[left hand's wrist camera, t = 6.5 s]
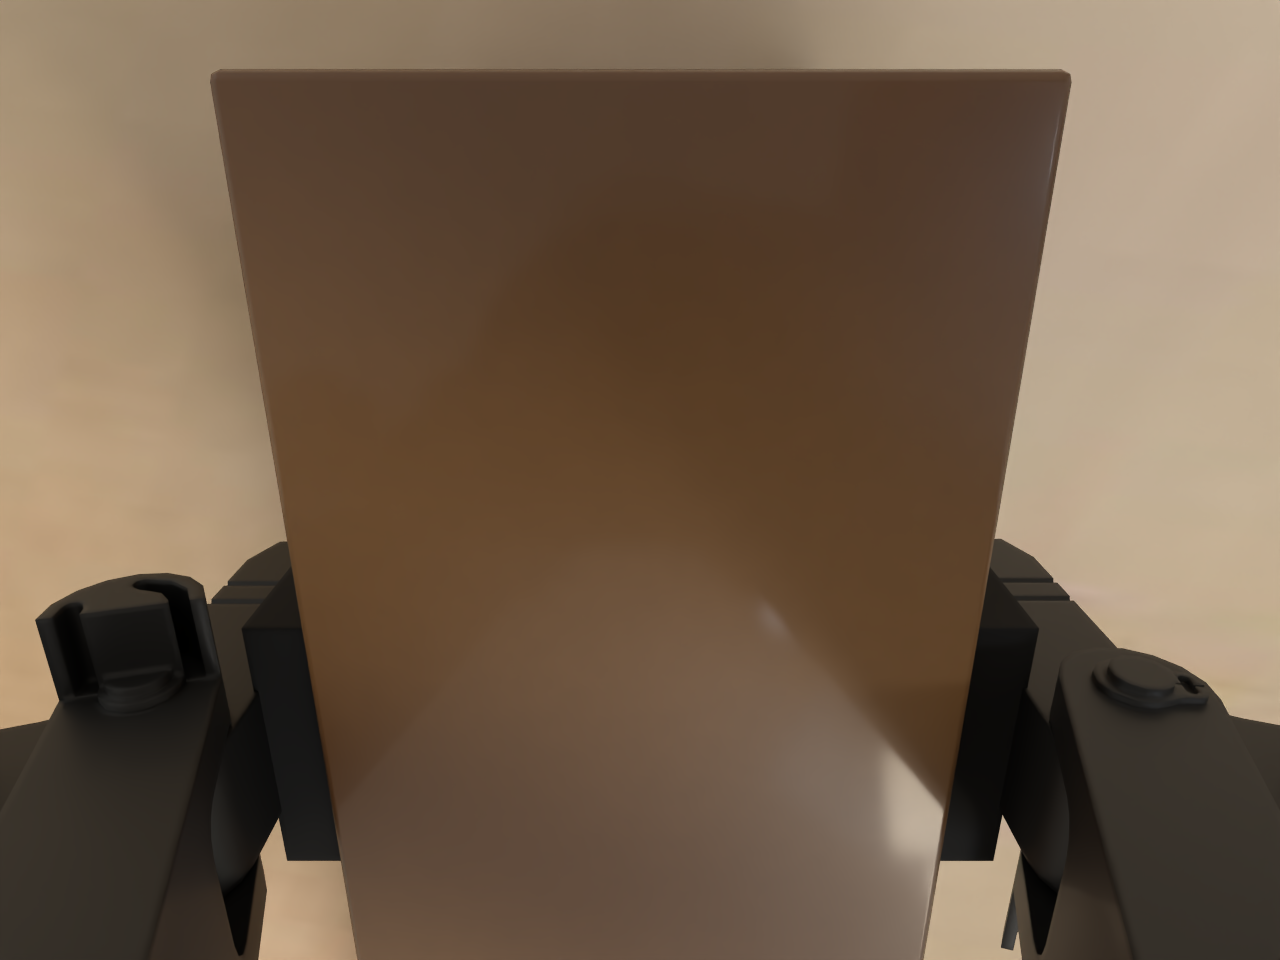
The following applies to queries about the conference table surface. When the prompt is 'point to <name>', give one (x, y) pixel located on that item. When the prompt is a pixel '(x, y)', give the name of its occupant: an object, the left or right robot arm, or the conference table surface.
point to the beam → (640, 483)
